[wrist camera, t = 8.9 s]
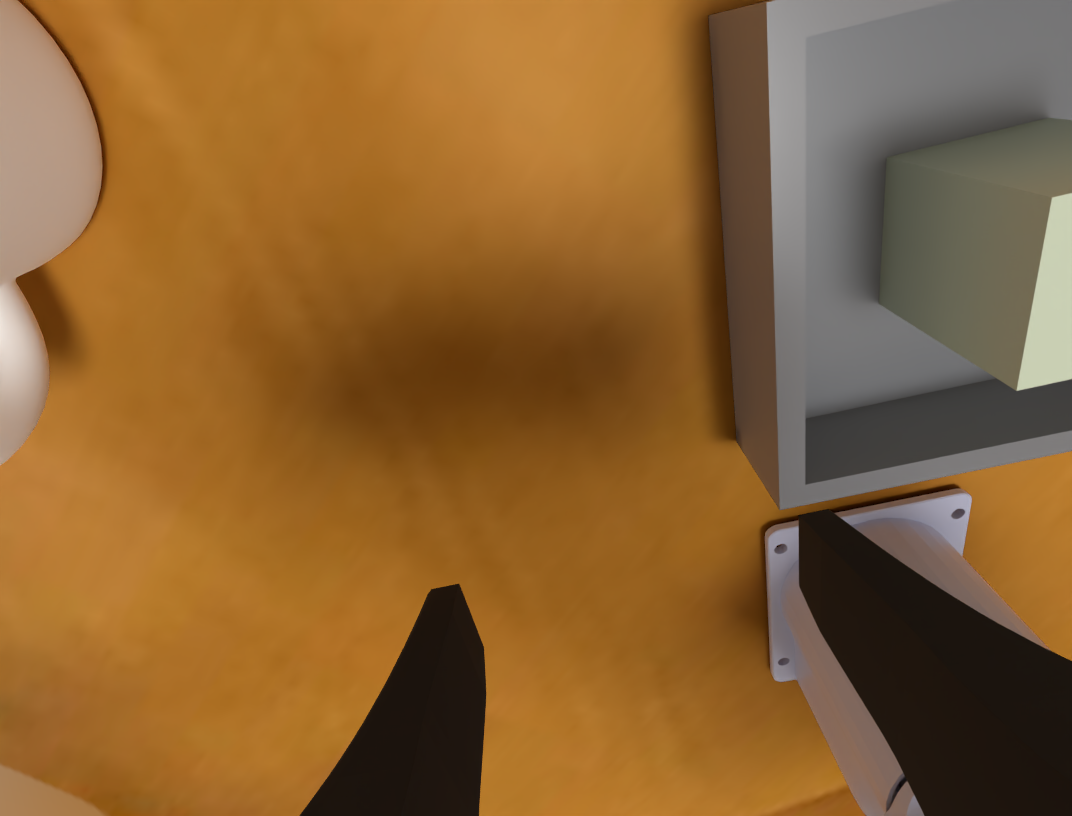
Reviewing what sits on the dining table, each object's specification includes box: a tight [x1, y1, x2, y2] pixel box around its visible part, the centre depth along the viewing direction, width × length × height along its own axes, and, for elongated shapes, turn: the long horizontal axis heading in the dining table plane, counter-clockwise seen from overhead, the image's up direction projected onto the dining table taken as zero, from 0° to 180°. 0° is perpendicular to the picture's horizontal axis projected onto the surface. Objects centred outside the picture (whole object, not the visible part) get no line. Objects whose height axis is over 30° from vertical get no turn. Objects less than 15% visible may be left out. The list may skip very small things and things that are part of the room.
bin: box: [708, 0, 1072, 510], centre depth 17 cm, size 14×14×4 cm
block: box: [879, 118, 1072, 391], centre depth 16 cm, size 4×4×6 cm
